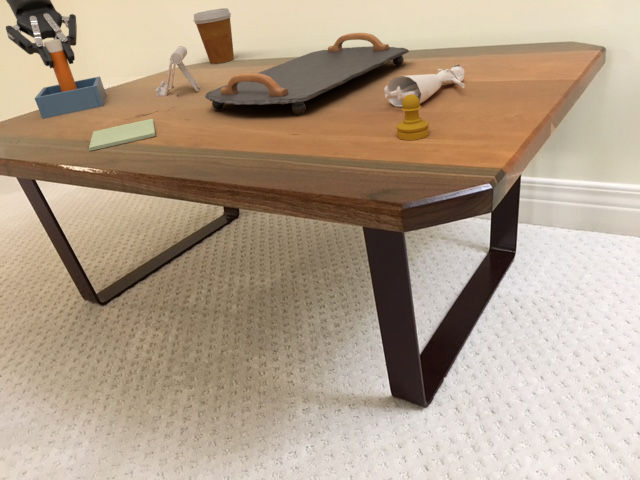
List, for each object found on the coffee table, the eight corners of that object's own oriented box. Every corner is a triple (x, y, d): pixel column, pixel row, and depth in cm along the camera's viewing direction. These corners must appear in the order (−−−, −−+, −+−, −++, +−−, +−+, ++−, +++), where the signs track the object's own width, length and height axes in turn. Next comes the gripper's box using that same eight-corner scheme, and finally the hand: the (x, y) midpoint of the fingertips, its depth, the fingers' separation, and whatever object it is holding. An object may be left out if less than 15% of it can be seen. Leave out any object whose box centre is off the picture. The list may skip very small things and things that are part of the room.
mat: (90, 151, 82) (88, 147, 82) (94, 134, 91) (93, 131, 91) (155, 136, 84) (154, 132, 84) (153, 121, 93) (153, 118, 93)
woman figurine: (359, 77, 79) (430, 57, 90) (361, 108, 80) (430, 84, 92) (426, 81, 71) (495, 58, 82) (427, 115, 73) (493, 88, 84)
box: (44, 122, 105) (34, 98, 103) (52, 110, 115) (43, 87, 113) (104, 109, 108) (96, 85, 105) (107, 98, 118) (100, 76, 115)
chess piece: (410, 127, 70) (408, 89, 67) (435, 131, 67) (433, 91, 64) (390, 137, 67) (387, 97, 65) (415, 141, 65) (412, 100, 62)
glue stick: (61, 95, 108) (42, 43, 103) (63, 92, 111) (44, 41, 106) (77, 92, 109) (59, 40, 104) (78, 89, 111) (60, 38, 107)
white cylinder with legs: (164, 91, 115) (153, 50, 111) (201, 85, 115) (191, 44, 111) (158, 101, 107) (145, 57, 103) (197, 94, 108) (186, 50, 104)
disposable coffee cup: (197, 67, 137) (185, 16, 131) (212, 59, 145) (201, 11, 139) (232, 63, 134) (221, 11, 129) (245, 55, 142) (235, 6, 137)
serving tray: (324, 61, 118) (320, 31, 115) (420, 60, 105) (418, 26, 102) (193, 115, 92) (183, 79, 89) (297, 123, 79) (289, 80, 76)
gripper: (-16, -13, 102) (20, 57, 99) (60, -24, 109) (96, 41, 105) (-7, 17, 109) (27, 84, 105) (64, 5, 115) (98, 67, 112)
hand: (61, 62), depth 105 cm, fingers closed on glue stick, 3 cm apart
